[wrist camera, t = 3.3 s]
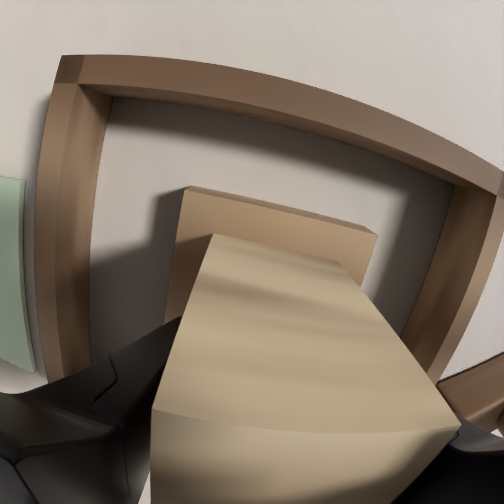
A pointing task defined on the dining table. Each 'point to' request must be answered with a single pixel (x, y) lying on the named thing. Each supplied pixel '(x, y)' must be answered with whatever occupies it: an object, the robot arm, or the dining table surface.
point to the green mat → (13, 278)
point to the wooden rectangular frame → (243, 208)
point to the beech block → (289, 389)
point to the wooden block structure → (478, 394)
